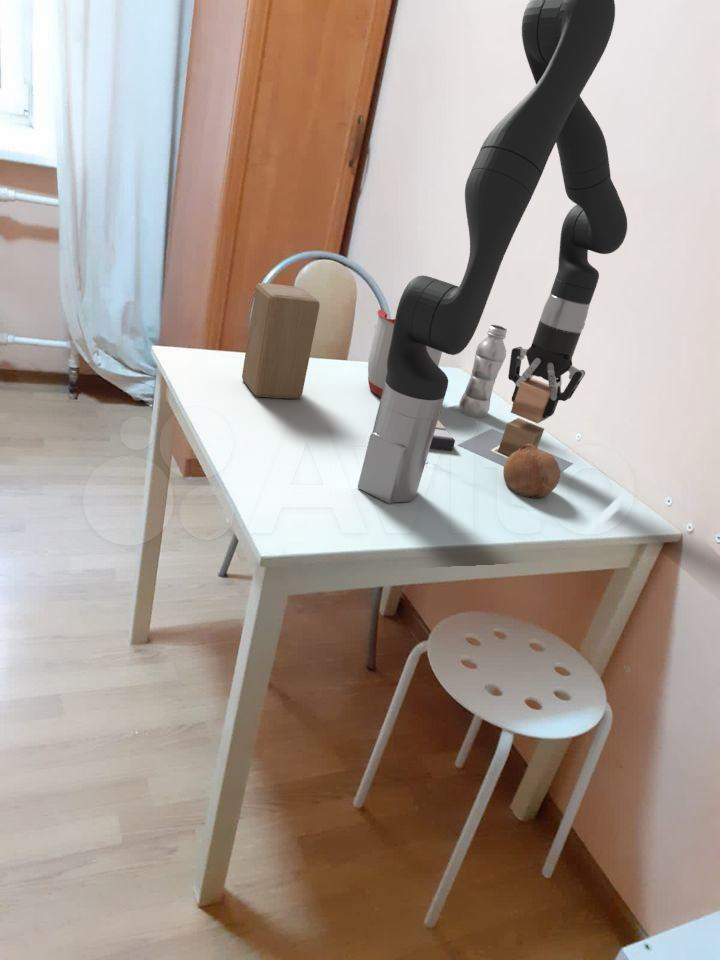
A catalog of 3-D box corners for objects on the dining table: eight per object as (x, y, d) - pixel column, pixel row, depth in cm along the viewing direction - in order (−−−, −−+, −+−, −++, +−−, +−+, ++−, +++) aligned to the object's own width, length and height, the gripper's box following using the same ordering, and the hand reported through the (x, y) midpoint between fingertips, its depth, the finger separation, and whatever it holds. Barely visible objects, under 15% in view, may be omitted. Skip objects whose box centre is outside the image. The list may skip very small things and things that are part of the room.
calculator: (431, 409, 144) (457, 437, 131) (426, 429, 146) (451, 458, 133) (380, 402, 141) (401, 430, 128) (375, 422, 143) (395, 452, 130)
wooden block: (239, 379, 145) (255, 280, 136) (286, 381, 149) (303, 286, 141) (254, 398, 137) (271, 295, 128) (302, 400, 142) (322, 301, 133)
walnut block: (523, 463, 135) (533, 434, 132) (497, 451, 137) (507, 423, 134) (534, 456, 139) (544, 428, 136) (508, 445, 141) (518, 417, 139)
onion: (499, 500, 128) (495, 444, 127) (551, 495, 128) (547, 439, 127) (514, 507, 118) (510, 447, 117) (569, 502, 119) (566, 441, 118)
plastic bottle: (452, 415, 154) (479, 324, 145) (462, 408, 160) (489, 320, 151) (479, 425, 152) (508, 334, 143) (489, 418, 157) (517, 330, 149)
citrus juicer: (392, 377, 169) (414, 293, 160) (443, 406, 158) (469, 318, 149) (341, 379, 159) (360, 289, 150) (391, 411, 148) (415, 316, 139)
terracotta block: (537, 423, 131) (548, 393, 129) (510, 412, 134) (520, 382, 131) (547, 417, 136) (558, 388, 133) (521, 407, 138) (531, 378, 135)
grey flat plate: (542, 490, 128) (544, 483, 128) (455, 450, 136) (457, 444, 135) (570, 468, 141) (573, 462, 140) (490, 433, 149) (491, 428, 148)
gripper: (516, 312, 127) (488, 400, 134) (593, 339, 121) (559, 430, 128) (532, 309, 133) (504, 394, 140) (605, 334, 127) (572, 421, 134)
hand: (530, 410), depth 134 cm, fingers closed on terracotta block, 5 cm apart
